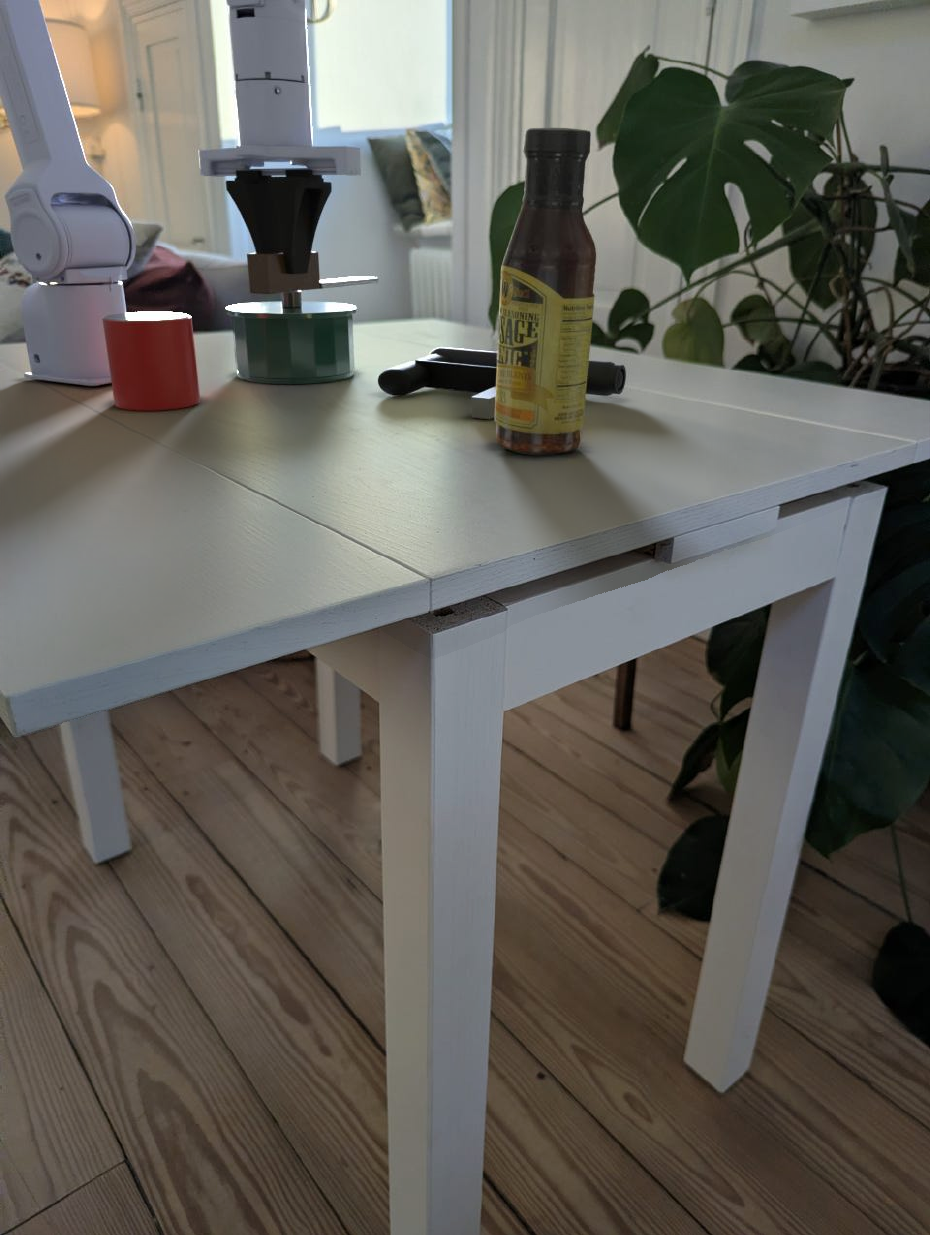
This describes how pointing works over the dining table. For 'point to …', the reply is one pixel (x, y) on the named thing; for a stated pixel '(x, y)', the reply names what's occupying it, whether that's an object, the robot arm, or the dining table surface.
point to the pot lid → (291, 308)
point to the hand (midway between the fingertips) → (284, 273)
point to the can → (152, 360)
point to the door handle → (480, 376)
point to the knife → (291, 275)
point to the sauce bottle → (546, 301)
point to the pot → (293, 349)
